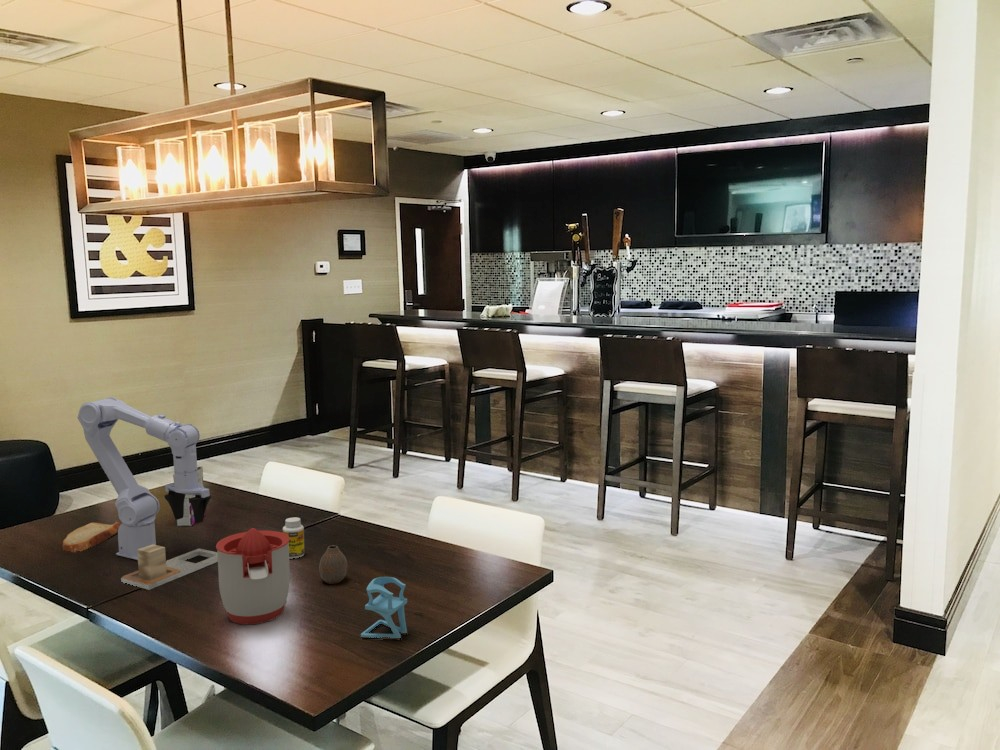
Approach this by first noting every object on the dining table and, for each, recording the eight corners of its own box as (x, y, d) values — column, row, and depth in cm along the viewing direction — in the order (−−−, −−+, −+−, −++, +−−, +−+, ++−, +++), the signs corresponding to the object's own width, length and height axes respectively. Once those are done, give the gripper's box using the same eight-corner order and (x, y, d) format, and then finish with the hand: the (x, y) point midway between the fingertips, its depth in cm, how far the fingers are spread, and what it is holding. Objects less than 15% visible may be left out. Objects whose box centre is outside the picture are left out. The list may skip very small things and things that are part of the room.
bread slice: (68, 555, 212) (67, 542, 212) (50, 539, 225) (49, 527, 225) (136, 540, 225) (136, 527, 224) (116, 526, 238) (115, 514, 237)
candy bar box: (190, 515, 247) (187, 465, 245) (205, 515, 247) (203, 465, 245) (175, 526, 236) (172, 473, 234) (191, 526, 236) (189, 473, 234)
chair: (394, 645, 159) (394, 589, 157) (359, 638, 162) (359, 583, 161) (413, 630, 166) (412, 576, 164) (379, 623, 169) (378, 570, 168)
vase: (352, 577, 195) (352, 543, 194) (338, 587, 189) (337, 553, 188) (328, 574, 197) (327, 540, 196) (314, 584, 191) (312, 549, 190)
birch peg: (139, 580, 193) (137, 549, 192) (154, 574, 197) (153, 544, 196) (151, 584, 191) (149, 552, 190) (166, 577, 195) (165, 547, 194)
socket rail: (121, 582, 192) (121, 576, 192) (199, 552, 213) (198, 547, 213) (148, 589, 187) (148, 584, 187) (225, 558, 209) (225, 553, 208)
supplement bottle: (287, 561, 207) (285, 523, 206) (280, 554, 211) (279, 518, 210) (307, 556, 210) (306, 520, 209) (300, 550, 214) (299, 515, 213)
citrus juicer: (222, 639, 162) (218, 546, 159) (216, 607, 178) (212, 522, 175) (298, 625, 168) (295, 536, 166) (286, 595, 184) (283, 514, 181)
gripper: (217, 470, 206) (220, 519, 208) (179, 465, 213) (182, 513, 215) (195, 476, 200) (199, 527, 202) (157, 470, 207) (160, 520, 209)
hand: (189, 520), depth 208 cm, fingers open, 7 cm apart
